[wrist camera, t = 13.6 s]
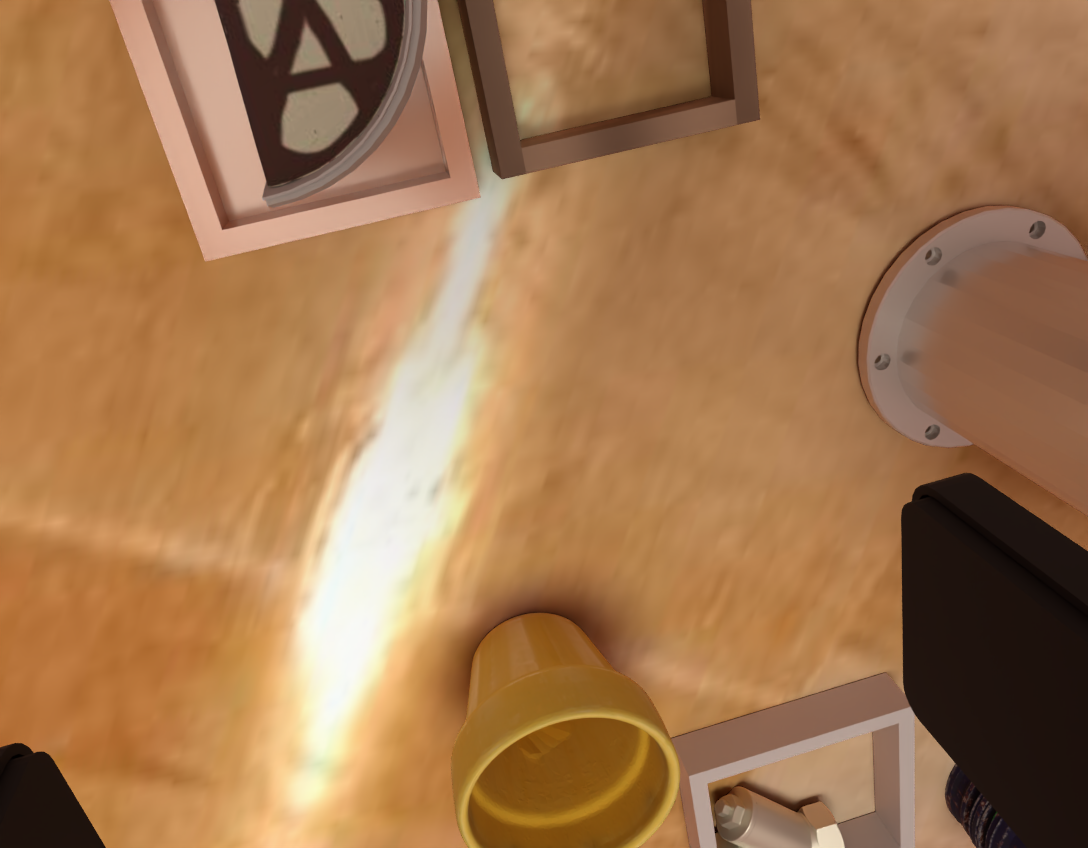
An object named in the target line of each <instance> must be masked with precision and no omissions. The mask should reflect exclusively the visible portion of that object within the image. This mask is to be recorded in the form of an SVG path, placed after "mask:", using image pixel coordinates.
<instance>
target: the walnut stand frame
mask: <svg viewBox="0 0 1088 848" xmlns="http://www.w3.org/2000/svg"><path fill="white" fill-rule="evenodd" d="M702 1H703V12H704V22H705V32H706V42H707V52H708V62H709V72H710V82H711V92H712V96H711V97H707V98H703V99H698V100H694V101H689V102H685V103H681V104H676V105H672V106H667V107H663V108H659V109H654V110H650V111H645V112H641V113H637V114H632V115H628V116H623V117H619V118H615V119H610V120H606V121H601V122H597V123H593V124H588V125H584V126H579V127H575V128H571V129H566V130H562V131H557V132H553V133H549V134H544V135H540V136H535V137H531V138H526V139H522V140H520V138H519V133H518V128H517V123H516V118H515V112H514V107H513V102H512V97H511V92H510V87H509V82H508V76H507V71H506V66H505V61H504V56H503V51H502V45H501V40H500V35H499V30H498V25H497V20H496V14H495V9H494V4H493V0H457V2H458V7H459V12H460V16H461V21H462V26H463V31H464V35H465V40H466V45H467V50H468V54H469V59H470V64H471V69H472V73H473V78H474V83H475V88H476V92H477V97H478V102H479V107H480V112H481V116H482V121H483V126H484V131H485V135H486V140H487V145H488V150H489V154H490V159H491V164H492V169H493V172H494V173H496V174H497V175H498V176H499V177H500V178H501V179H505V178H510V177H514V176H518V175H523V174H527V173H531V172H536V171H540V170H544V169H549V168H553V167H557V166H562V165H566V164H570V163H574V162H579V161H583V160H587V159H592V158H596V157H600V156H605V155H609V154H613V153H618V152H622V151H626V150H631V149H635V148H639V147H644V146H648V145H652V144H657V143H661V142H665V141H670V140H674V139H678V138H682V137H687V136H691V135H695V134H700V133H704V132H708V131H713V130H717V129H721V128H726V127H730V126H734V125H739V124H743V123H747V122H752V121H756V120H760V113H759V100H758V88H757V75H756V62H755V49H754V36H753V23H752V10H751V0H702Z"/></svg>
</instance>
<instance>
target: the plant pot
mask: <svg viewBox="0 0 1088 848" xmlns="http://www.w3.org/2000/svg"><path fill="white" fill-rule="evenodd" d="M451 775H452V789H453V797H454V805H455V813H456V819H457V824H458V827H459V831H460V833H461V836H462V838H463V840H464V842H465V843H466V845H467V846H468V848H639V847H640V846H641V845H642V844H644V843H645V842H646V841H647V840H648V839H649V838H650V837H651V836H652V835H653V834H654V833H655V832H656V831H657V830H658V828H659V827H660V826H661V824H662V823H663V822H664V820H665V819H666V817H667V816H668V814H669V812H670V810H671V808H672V806H673V804H674V802H675V800H676V797H677V793H678V789H679V784H680V763H679V759H678V755H677V752H676V750H675V747H674V745H673V742H672V740H671V738H670V736H669V734H668V731H667V729H666V727H665V725H664V723H663V721H662V719H661V717H660V715H659V713H658V711H657V710H656V708H655V706H654V704H653V703H652V701H651V699H650V698H649V696H648V695H647V693H646V692H645V691H644V690H643V689H642V688H641V687H640V686H639V685H638V684H637V683H635V682H634V681H633V680H631V679H630V678H628V677H626V676H625V675H623V674H621V673H619V672H617V671H615V670H614V669H613V667H612V666H611V665H610V664H609V663H608V661H607V660H606V659H605V658H604V656H603V655H602V654H601V653H600V651H599V650H598V649H597V648H596V647H595V645H594V644H593V643H592V642H591V640H590V639H589V638H588V637H587V635H586V634H585V633H584V632H583V631H582V630H581V629H580V628H579V627H578V626H577V625H576V624H575V623H573V622H572V621H570V620H568V619H567V618H564V617H562V616H559V615H555V614H550V613H529V614H524V615H520V616H517V617H514V618H511V619H509V620H507V621H505V622H503V623H501V624H500V625H498V626H497V627H495V628H494V629H493V630H492V631H490V632H489V633H488V634H487V635H486V637H485V638H484V639H483V640H482V641H481V643H480V645H479V646H478V648H477V650H476V652H475V654H474V657H473V661H472V668H471V678H470V688H469V697H468V706H467V714H466V721H465V723H464V724H463V726H462V727H461V729H460V731H459V733H458V735H457V738H456V740H455V743H454V746H453V751H452V757H451Z"/></svg>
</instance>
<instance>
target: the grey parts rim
mask: <svg viewBox="0 0 1088 848" xmlns="http://www.w3.org/2000/svg"><path fill="white" fill-rule="evenodd" d="M869 732H873V755H874V785H875V812H873V813H870V814H867V815H864V816H861V817H858V818H855V819H852V820H849V821H846V822H843V823H840V824H837V825H838V827H839V829H840V832H841V835H842V838H843V841H844V845H845V848H915V732H914V712H913V711H912V709H911V707H910V705H909V703H908V700H907V698H906V695H905V694H904V693H903V692H902V691H901V689H900V688H899V687H898V686H897V685H896V684H895V682H894V681H893V680H892V679H891V678H890V677H889V675H888V674H887V673H882V674H879V675H876V676H873V677H869V678H866V679H863V680H860V681H856V682H853V683H850V684H847V685H843V686H840V687H837V688H834V689H830V690H827V691H824V692H821V693H817V694H814V695H811V696H808V697H804V698H801V699H798V700H795V701H791V702H788V703H785V704H782V705H778V706H775V707H772V708H769V709H765V710H762V711H759V712H756V713H752V714H749V715H746V716H743V717H739V718H736V719H733V720H730V721H726V722H723V723H720V724H717V725H713V726H710V727H707V728H704V729H700V730H697V731H694V732H691V733H687V734H684V735H681V736H678V737H674V738H671V739H672V742H673V745H674V747H675V750H676V752H677V755H678V759H679V763H680V784H679V786H680V792H681V798H682V804H683V810H684V816H685V822H686V828H687V834H688V839H689V845H690V848H717V845H716V838H715V832H714V825H713V818H712V812H711V805H710V798H709V792H708V785H707V783H711V782H714V781H717V780H720V779H723V778H726V777H730V776H733V775H736V774H739V773H742V772H746V771H749V770H752V769H755V768H758V767H761V766H765V765H768V764H771V763H774V762H777V761H780V760H784V759H787V758H790V757H793V756H796V755H800V754H803V753H806V752H809V751H812V750H815V749H819V748H822V747H825V746H828V745H831V744H834V743H838V742H841V741H844V740H847V739H850V738H853V737H857V736H860V735H863V734H866V733H869Z"/></svg>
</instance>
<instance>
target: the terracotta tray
mask: <svg viewBox="0 0 1088 848" xmlns="http://www.w3.org/2000/svg"><path fill="white" fill-rule="evenodd" d="M109 1H110V3H111V6H112V9H113V11H114V14H115V17H116V20H117V22H118V25H119V28H120V30H121V33H122V36H123V39H124V41H125V44H126V47H127V50H128V52H129V55H130V58H131V60H132V63H133V66H134V69H135V71H136V74H137V77H138V79H139V82H140V85H141V88H142V90H143V93H144V96H145V99H146V101H147V104H148V107H149V109H150V112H151V115H152V118H153V120H154V123H155V126H156V128H157V131H158V134H159V137H160V139H161V142H162V145H163V147H164V150H165V153H166V156H167V158H168V161H169V164H170V167H171V169H172V172H173V175H174V177H175V180H176V183H177V186H178V188H179V191H180V194H181V196H182V199H183V202H184V205H185V207H186V210H187V213H188V216H189V218H190V221H191V224H192V226H193V229H194V232H195V235H196V237H197V240H198V243H199V245H200V248H201V251H202V254H203V256H204V259H205V261H210V260H214V259H218V258H223V257H227V256H231V255H236V254H240V253H244V252H248V251H253V250H257V249H261V248H266V247H270V246H274V245H278V244H283V243H287V242H291V241H296V240H300V239H304V238H308V237H313V236H317V235H321V234H326V233H330V232H334V231H338V230H343V229H347V228H351V227H356V226H360V225H364V224H369V223H373V222H377V221H381V220H386V219H390V218H394V217H399V216H403V215H407V214H411V213H416V212H420V211H424V210H429V209H433V208H437V207H441V206H446V205H450V204H454V203H459V202H463V201H467V200H472V199H476V198H480V197H481V196H480V192H479V187H478V183H477V178H476V174H475V169H474V165H473V160H472V155H471V151H470V146H469V142H468V137H467V133H466V128H465V123H464V119H463V114H462V110H461V105H460V101H459V96H458V91H457V87H456V82H455V78H454V73H453V69H452V64H451V59H450V55H449V50H448V46H447V41H446V37H445V32H444V27H443V23H442V18H441V14H440V9H439V5H438V0H428V2H427V33H426V39H425V45H424V50H423V56H422V62H421V66H420V69H419V72H418V75H417V78H416V81H415V84H414V87H413V90H412V93H411V96H410V98H409V100H408V102H407V104H406V106H405V107H404V109H403V111H402V113H401V115H400V117H399V119H398V121H397V123H396V124H395V126H394V127H393V128H392V130H391V131H390V132H389V134H388V135H387V136H386V138H385V139H384V140H383V142H382V143H381V144H380V146H379V147H378V148H377V149H376V150H375V151H374V152H373V153H372V154H371V155H370V156H369V157H368V158H367V159H366V160H365V161H364V162H363V163H362V164H361V165H360V166H359V167H358V168H356V169H355V170H354V171H353V172H351V173H350V174H348V175H347V176H345V177H344V178H342V179H341V180H339V181H338V182H336V183H335V184H333V185H332V186H330V187H329V188H326V189H324V190H322V191H320V192H318V193H315V194H313V195H311V196H309V197H307V198H305V199H302V200H299V201H296V202H292V203H289V204H285V205H282V206H278V207H274V208H273V207H269V206H267V203H266V200H264V201H263V199H262V196H263V192H264V188H265V184H266V178H265V175H264V172H263V168H262V165H261V161H260V158H259V155H258V151H257V148H256V144H255V141H254V137H253V134H252V130H251V127H250V123H249V120H248V116H247V112H246V109H245V105H244V102H243V98H242V95H241V91H240V88H239V84H238V80H237V77H236V73H235V70H234V66H233V62H232V59H231V55H230V52H229V48H228V44H227V41H226V37H225V34H224V31H223V27H222V24H221V21H220V17H219V14H218V11H217V7H216V4H215V0H109Z"/></svg>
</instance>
